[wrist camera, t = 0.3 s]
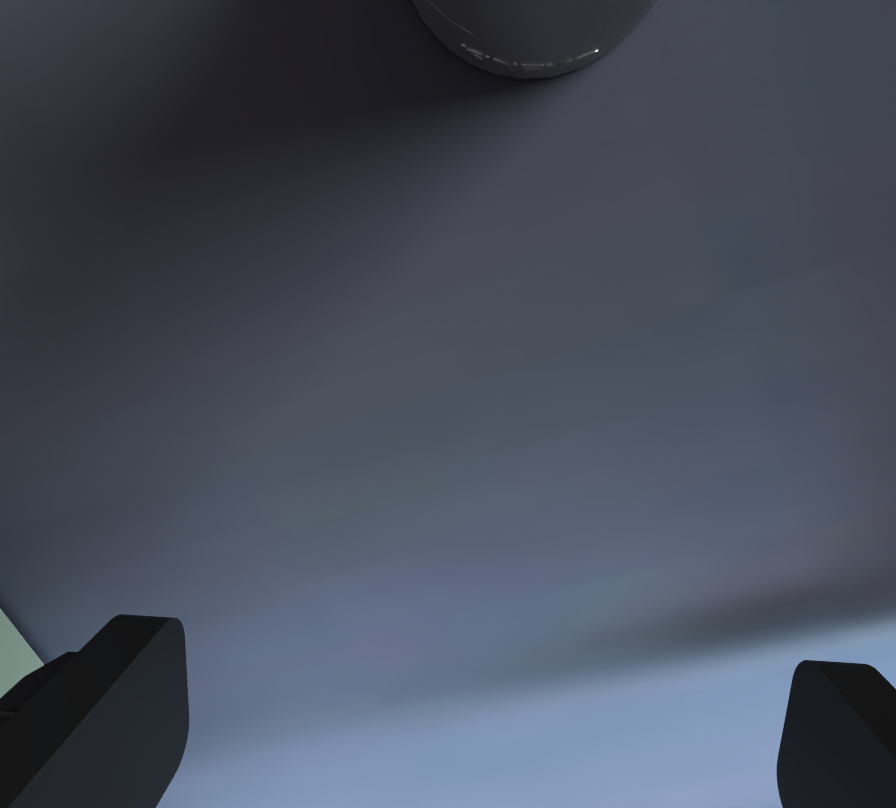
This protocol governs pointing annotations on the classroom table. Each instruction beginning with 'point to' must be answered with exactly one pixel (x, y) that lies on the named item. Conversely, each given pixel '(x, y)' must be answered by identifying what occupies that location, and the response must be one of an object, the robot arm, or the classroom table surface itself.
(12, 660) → the tongs arm
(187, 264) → the classroom table surface
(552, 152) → the classroom table surface
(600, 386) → the classroom table surface
